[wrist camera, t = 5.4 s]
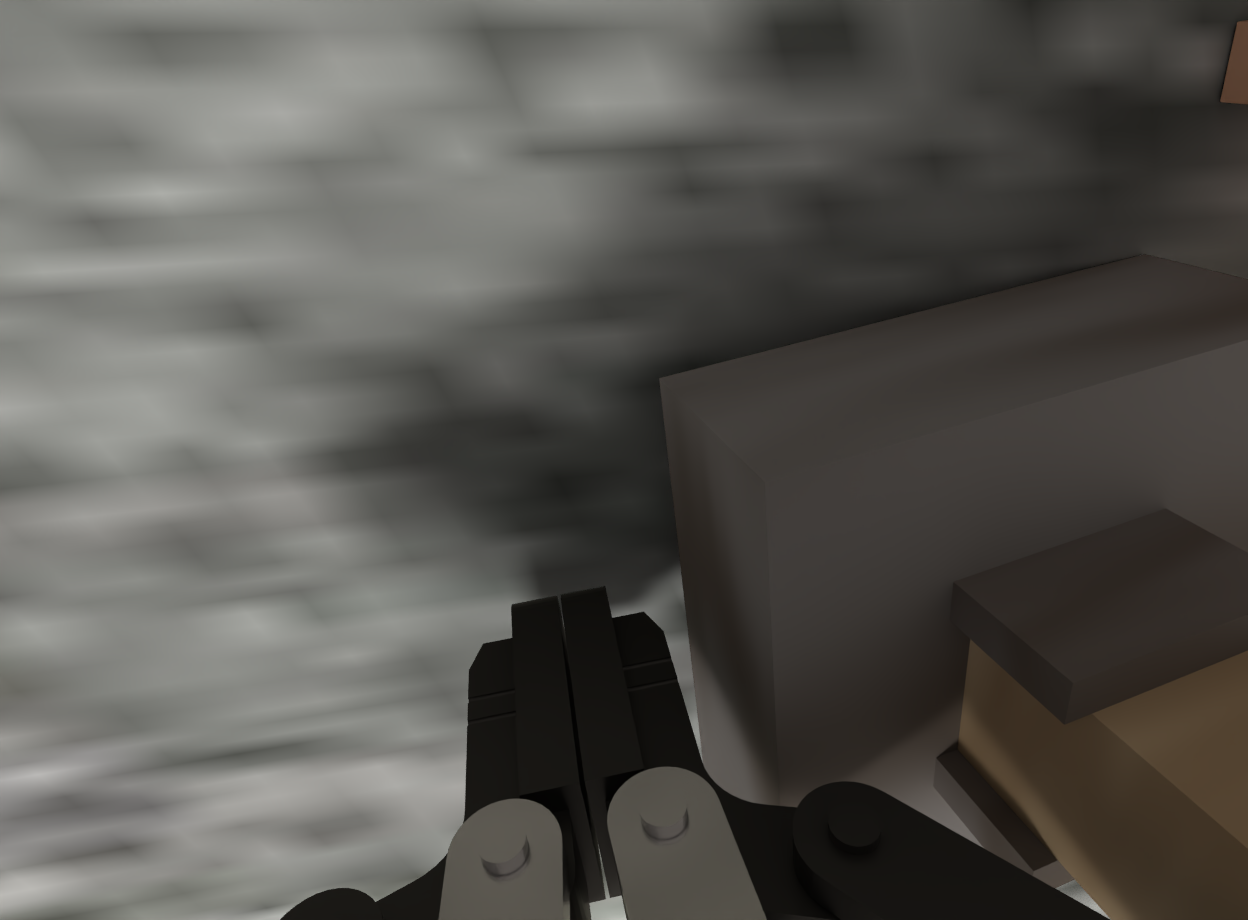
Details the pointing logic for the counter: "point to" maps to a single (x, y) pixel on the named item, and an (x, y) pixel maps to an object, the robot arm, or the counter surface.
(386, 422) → the counter surface
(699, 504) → the mounted wooden block
